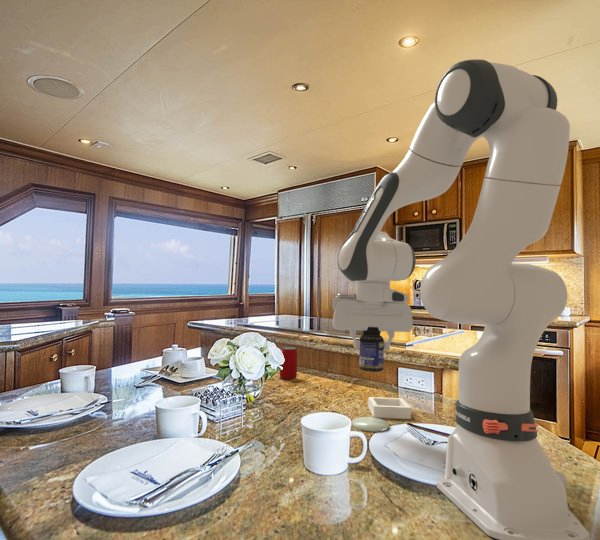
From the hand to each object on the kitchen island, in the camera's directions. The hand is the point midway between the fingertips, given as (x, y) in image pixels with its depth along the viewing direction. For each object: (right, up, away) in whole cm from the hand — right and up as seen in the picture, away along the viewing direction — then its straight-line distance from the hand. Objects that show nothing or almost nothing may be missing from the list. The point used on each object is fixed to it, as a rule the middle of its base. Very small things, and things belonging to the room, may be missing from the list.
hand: (371, 348), depth 100 cm
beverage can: (-23, -23, +53) cm, 62 cm away
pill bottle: (0, -6, 0) cm, 6 cm away
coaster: (-1, -19, -1) cm, 19 cm away
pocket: (+7, -20, +10) cm, 24 cm away
